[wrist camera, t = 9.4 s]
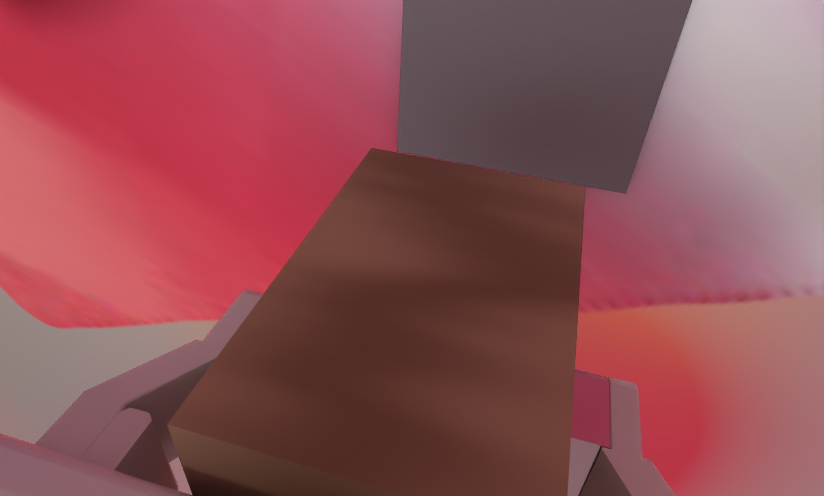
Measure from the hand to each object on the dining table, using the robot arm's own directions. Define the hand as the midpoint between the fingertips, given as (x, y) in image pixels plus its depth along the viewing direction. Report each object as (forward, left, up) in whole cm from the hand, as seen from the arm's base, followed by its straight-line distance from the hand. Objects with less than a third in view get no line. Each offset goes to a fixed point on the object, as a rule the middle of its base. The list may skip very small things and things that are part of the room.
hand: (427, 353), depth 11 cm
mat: (0, 0, -19) cm, 19 cm away
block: (0, 0, -4) cm, 4 cm away
